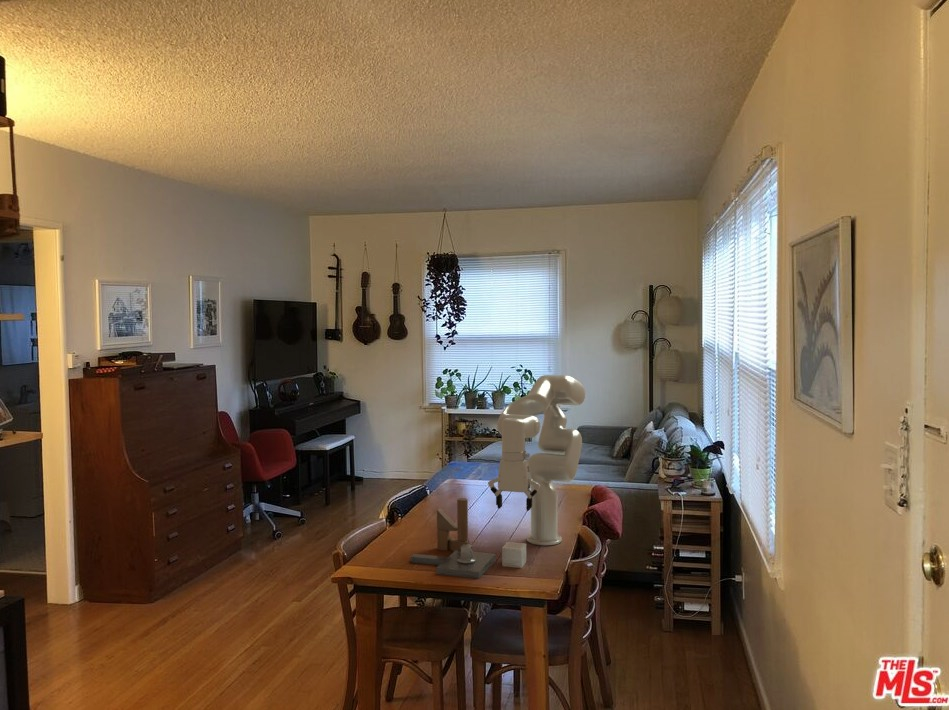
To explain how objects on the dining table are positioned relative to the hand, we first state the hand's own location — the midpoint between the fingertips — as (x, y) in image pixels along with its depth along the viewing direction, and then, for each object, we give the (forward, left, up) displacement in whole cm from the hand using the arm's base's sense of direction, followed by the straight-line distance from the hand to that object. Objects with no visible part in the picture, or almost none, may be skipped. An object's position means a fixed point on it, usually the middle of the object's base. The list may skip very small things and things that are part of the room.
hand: (514, 508), depth 223 cm
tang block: (+7, -20, -18) cm, 28 cm away
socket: (0, 0, -18) cm, 18 cm away
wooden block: (-8, -24, -18) cm, 31 cm away
